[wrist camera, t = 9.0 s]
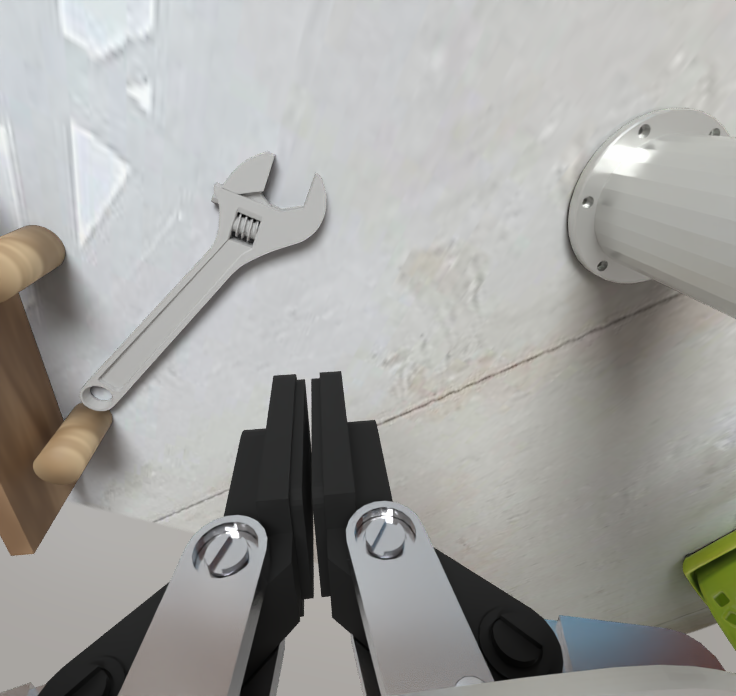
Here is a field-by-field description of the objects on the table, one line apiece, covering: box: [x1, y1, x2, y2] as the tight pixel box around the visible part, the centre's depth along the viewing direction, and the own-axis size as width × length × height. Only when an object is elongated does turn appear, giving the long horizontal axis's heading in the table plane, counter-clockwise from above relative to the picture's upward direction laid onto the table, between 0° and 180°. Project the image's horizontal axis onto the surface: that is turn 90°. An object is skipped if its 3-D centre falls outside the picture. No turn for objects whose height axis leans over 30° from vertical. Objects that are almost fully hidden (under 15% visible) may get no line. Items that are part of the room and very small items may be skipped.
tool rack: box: [0, 225, 113, 556], centre depth 29 cm, size 5×26×8 cm, turn 177°
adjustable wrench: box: [79, 151, 327, 411], centre depth 31 cm, size 25×6×2 cm, turn 129°
